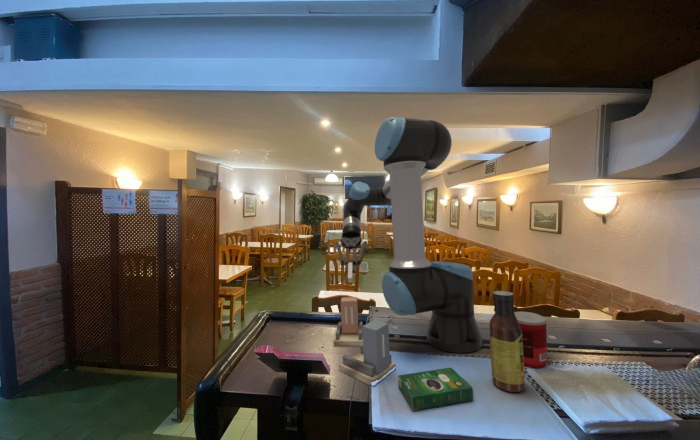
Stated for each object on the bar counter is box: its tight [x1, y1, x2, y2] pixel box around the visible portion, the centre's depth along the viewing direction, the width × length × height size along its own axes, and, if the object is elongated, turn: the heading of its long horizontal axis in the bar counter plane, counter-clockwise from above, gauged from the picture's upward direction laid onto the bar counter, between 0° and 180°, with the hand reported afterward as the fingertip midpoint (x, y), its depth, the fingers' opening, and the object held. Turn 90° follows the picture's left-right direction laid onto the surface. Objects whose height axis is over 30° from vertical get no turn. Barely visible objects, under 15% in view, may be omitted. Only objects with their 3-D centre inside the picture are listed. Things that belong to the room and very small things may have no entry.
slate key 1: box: [362, 319, 391, 374], centre depth 65 cm, size 4×5×10 cm
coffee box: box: [397, 367, 475, 411], centre depth 57 cm, size 8×3×13 cm
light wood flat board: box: [333, 321, 397, 386], centre depth 76 cm, size 13×32×4 cm, turn 15°
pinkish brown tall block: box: [340, 296, 359, 333], centre depth 86 cm, size 4×5×10 cm
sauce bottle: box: [489, 290, 526, 393], centre depth 59 cm, size 7×6×20 cm
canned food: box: [514, 311, 548, 369], centre depth 68 cm, size 8×8×11 cm
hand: (350, 280), depth 95 cm, fingers closed
